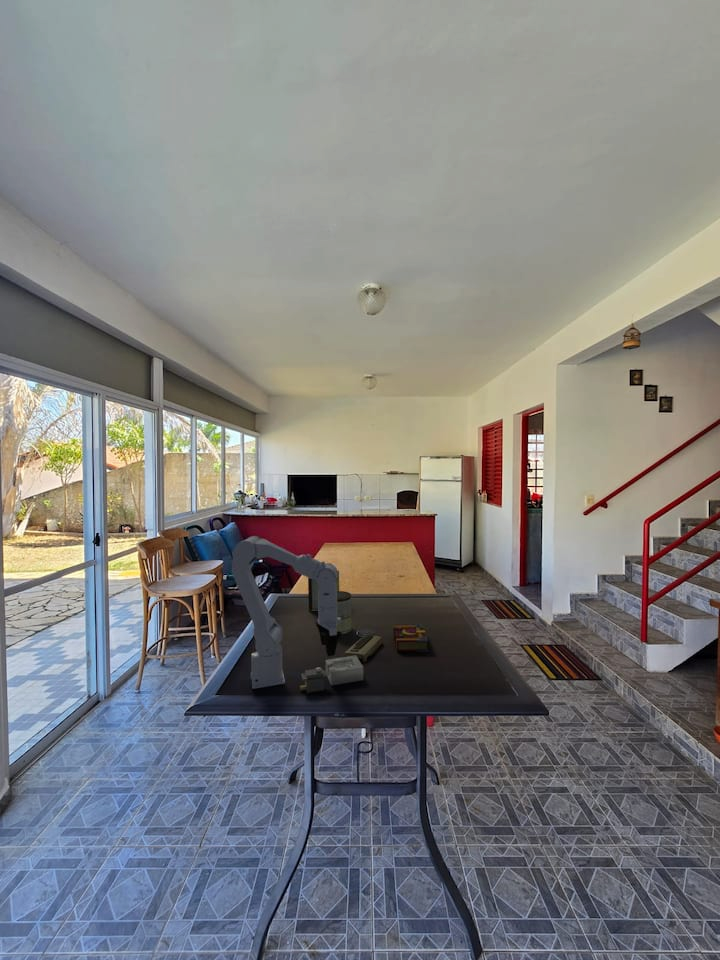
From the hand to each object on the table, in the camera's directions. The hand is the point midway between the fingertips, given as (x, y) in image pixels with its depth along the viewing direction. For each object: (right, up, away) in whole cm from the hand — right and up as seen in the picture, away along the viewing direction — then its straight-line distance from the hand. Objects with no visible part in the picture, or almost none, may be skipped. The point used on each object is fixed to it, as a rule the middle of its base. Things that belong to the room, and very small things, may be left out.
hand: (328, 649), depth 119 cm
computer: (+11, -10, +20) cm, 25 cm away
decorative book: (+28, -9, +26) cm, 40 cm away
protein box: (-7, -9, +67) cm, 68 cm away
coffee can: (+1, -9, +39) cm, 40 cm away
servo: (-4, -10, -4) cm, 11 cm away
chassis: (+5, -9, +3) cm, 11 cm away
